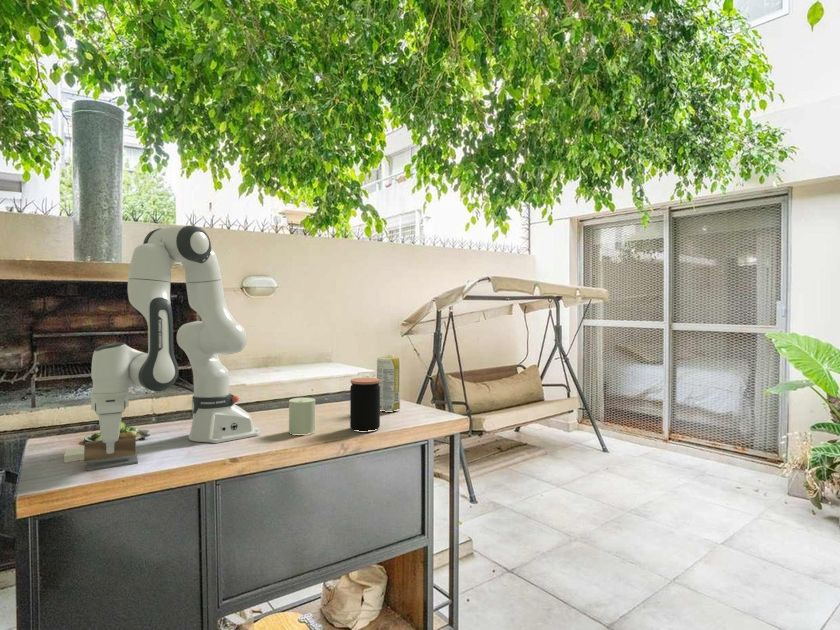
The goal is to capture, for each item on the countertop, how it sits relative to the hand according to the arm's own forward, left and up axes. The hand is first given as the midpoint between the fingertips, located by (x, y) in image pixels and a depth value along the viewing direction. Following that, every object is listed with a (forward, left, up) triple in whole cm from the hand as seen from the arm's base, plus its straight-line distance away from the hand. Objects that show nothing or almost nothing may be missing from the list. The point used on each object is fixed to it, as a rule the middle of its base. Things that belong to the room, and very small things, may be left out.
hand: (110, 451), depth 137 cm
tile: (+7, -8, -3) cm, 11 cm away
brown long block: (0, 0, -2) cm, 2 cm away
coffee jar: (-78, +1, -4) cm, 78 cm away
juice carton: (-100, -22, -4) cm, 103 cm away
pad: (-1, 0, -4) cm, 4 cm away
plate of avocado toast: (-2, -30, -4) cm, 31 cm away
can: (-57, -6, -4) cm, 58 cm away
